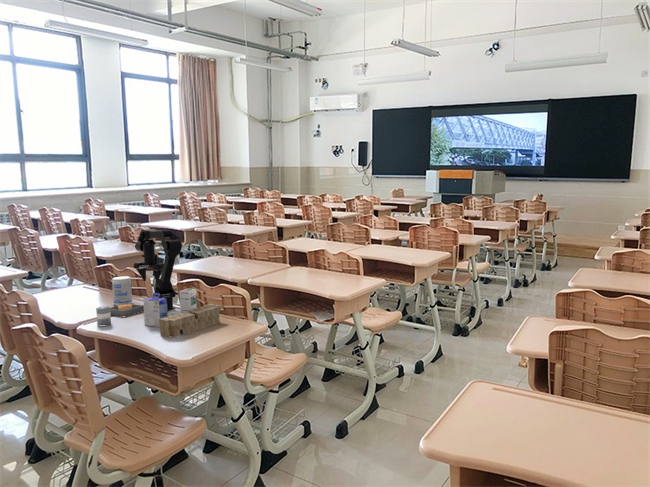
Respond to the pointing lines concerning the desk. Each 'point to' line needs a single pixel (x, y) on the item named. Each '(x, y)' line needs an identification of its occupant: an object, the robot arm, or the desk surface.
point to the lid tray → (135, 309)
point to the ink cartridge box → (154, 310)
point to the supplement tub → (122, 290)
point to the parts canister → (103, 315)
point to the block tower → (189, 321)
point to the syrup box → (188, 300)
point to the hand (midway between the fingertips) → (151, 281)
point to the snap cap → (125, 307)
